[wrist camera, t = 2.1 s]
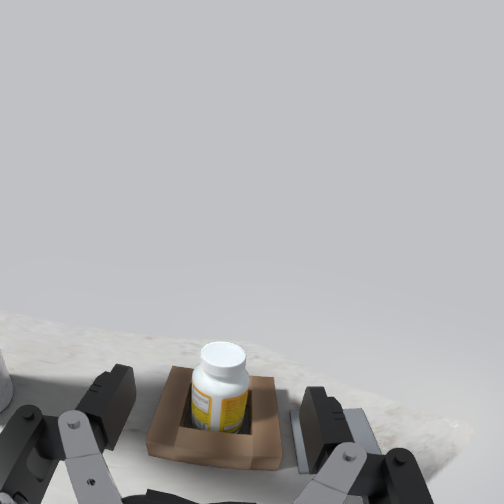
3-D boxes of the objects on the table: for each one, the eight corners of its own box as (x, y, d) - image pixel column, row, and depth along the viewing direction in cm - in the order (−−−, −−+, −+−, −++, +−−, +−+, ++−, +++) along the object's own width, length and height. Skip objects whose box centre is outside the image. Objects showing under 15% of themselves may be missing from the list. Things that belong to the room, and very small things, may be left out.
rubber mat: (298, 473, 20) (300, 471, 20) (289, 412, 29) (290, 410, 29) (383, 464, 21) (384, 462, 21) (360, 410, 30) (361, 408, 29)
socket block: (148, 455, 20) (145, 440, 20) (173, 381, 32) (172, 365, 31) (277, 470, 21) (282, 456, 20) (270, 392, 32) (273, 377, 32)
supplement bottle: (187, 436, 24) (185, 365, 22) (197, 402, 29) (199, 333, 27) (240, 444, 24) (252, 375, 21) (244, 409, 29) (255, 341, 27)
